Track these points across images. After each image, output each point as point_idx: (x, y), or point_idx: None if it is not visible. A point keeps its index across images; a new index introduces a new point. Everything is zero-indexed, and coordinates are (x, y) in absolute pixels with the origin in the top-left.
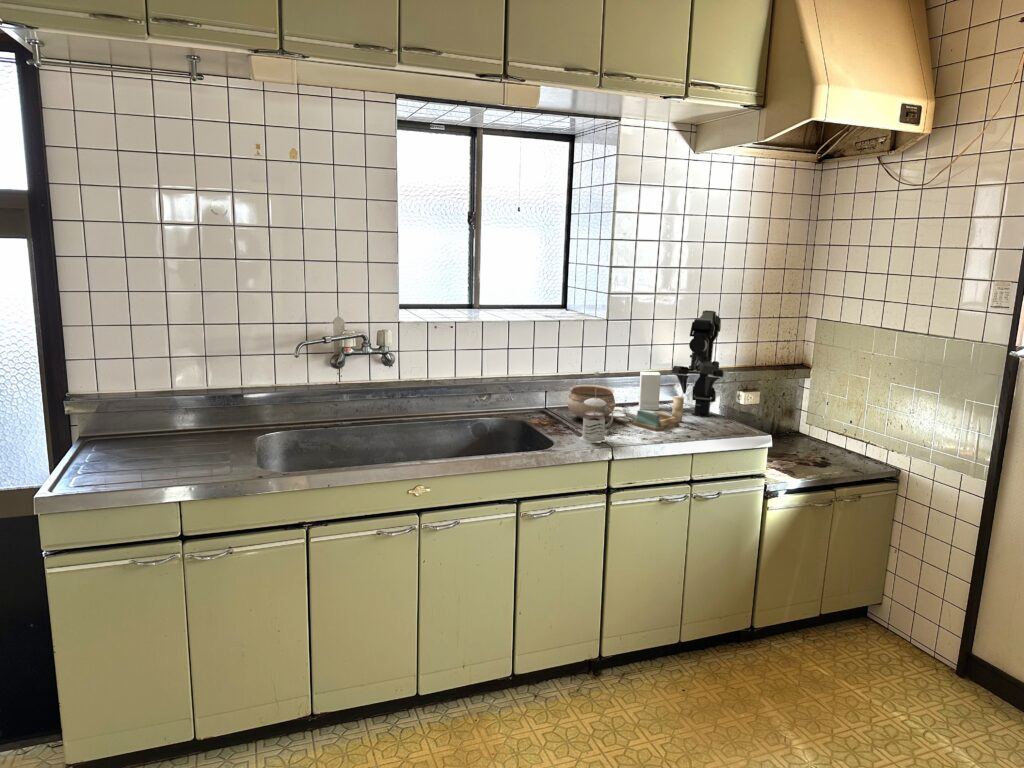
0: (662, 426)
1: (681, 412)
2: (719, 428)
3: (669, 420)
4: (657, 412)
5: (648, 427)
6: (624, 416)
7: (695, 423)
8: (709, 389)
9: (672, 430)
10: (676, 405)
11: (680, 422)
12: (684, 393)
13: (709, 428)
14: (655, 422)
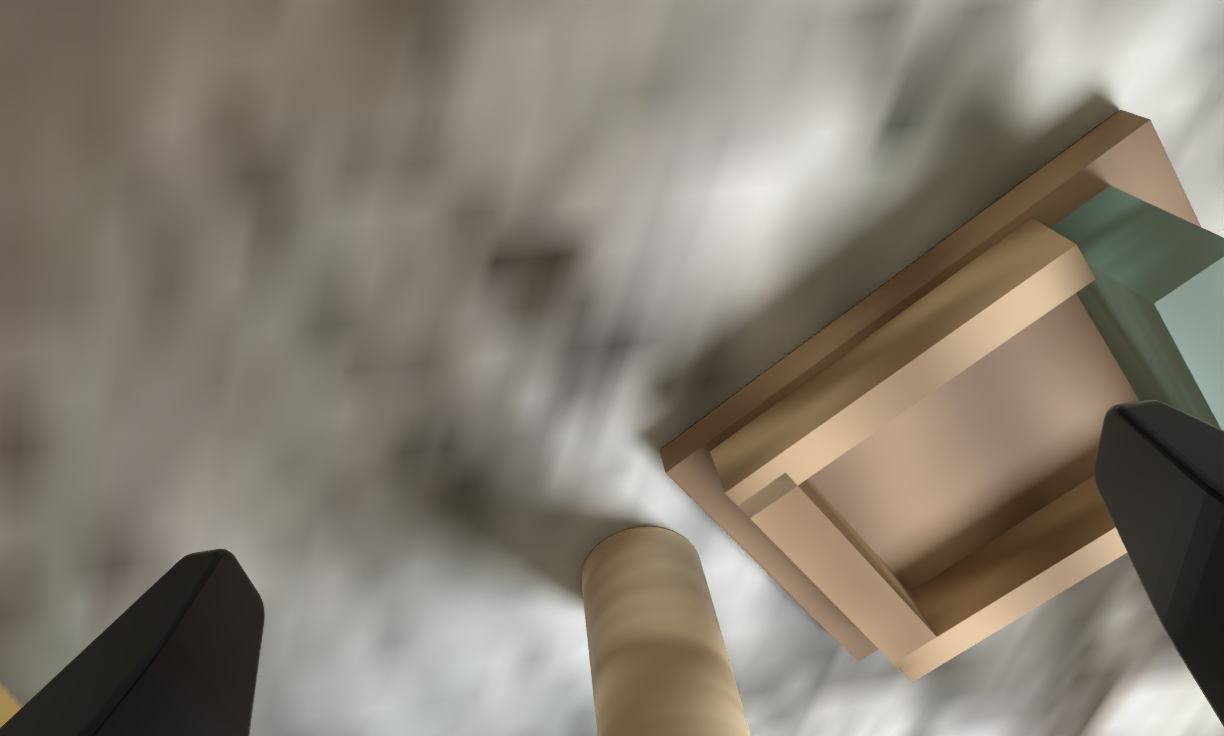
0: (996, 230)
1: (622, 634)
2: (115, 342)
3: (871, 375)
4: (895, 662)
5: (1183, 208)
6: (1140, 668)
7: (424, 528)
8: (34, 723)
9: (851, 178)
10: (725, 710)
11: (610, 537)
12: (1146, 409)
13: (270, 328)
14: (1161, 216)
